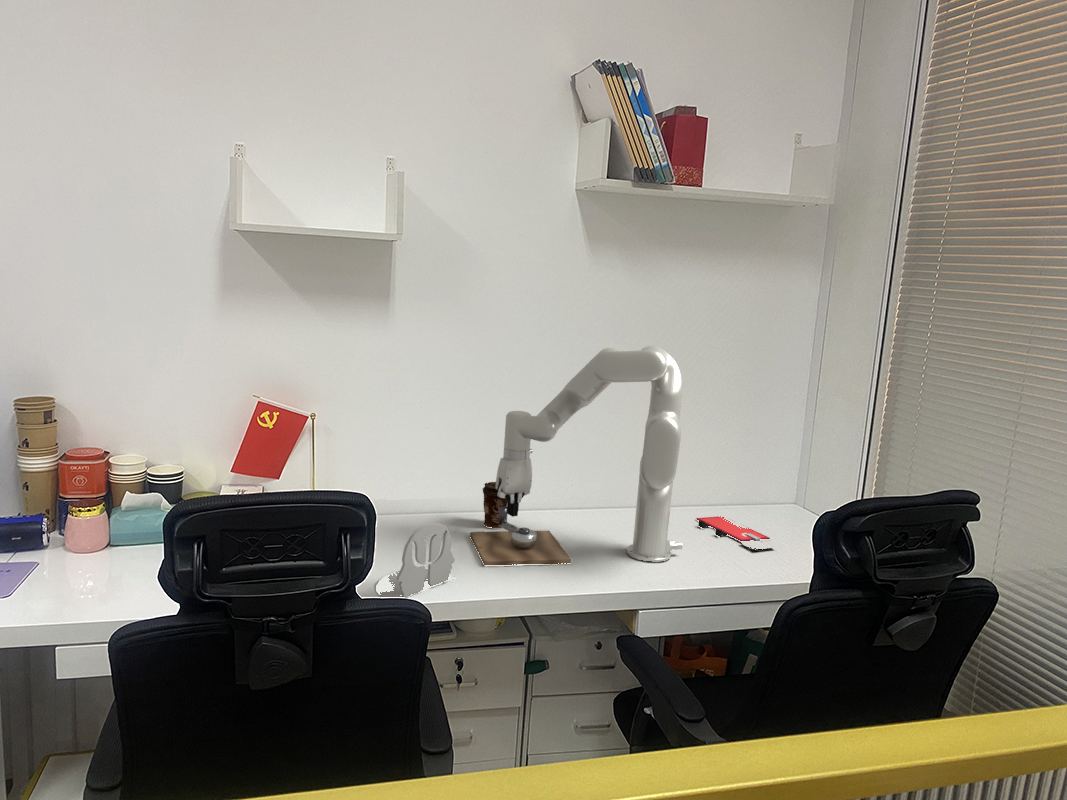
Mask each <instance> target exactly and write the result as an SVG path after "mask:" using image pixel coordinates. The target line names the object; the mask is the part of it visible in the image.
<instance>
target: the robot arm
mask: <svg viewBox="0 0 1067 800" xmlns="http://www.w3.org/2000/svg"><path fill="white" fill-rule="evenodd" d="M645 382H647V383H648V382H650V386H651V388H650V398H649V399H650V400H649V407H648V408H649V409H648V415H647V419H646V421H645V422H646V423H645V428H644V429H645V430H644V440H643V449H642V456H641V458H640V463H639V476H638V488H637V499H636V508H635V518H634V527H633V538H632V544H630V545H628V546H627V547H626V553H628V554H627V555H628V556H629V555H630V558H633V559H635V560H638V561H641V560H643V561H642V562H646V561H652V562H651V563H660V562H659V561H664V562H667V561H668V559H669V560H670V559H671V558H670V557H672V553H671V551H672V550H682V549H683V543H682V542H675V541H674V540H668V534H669V525H670V514H671V505H672V496H673V486H674V485H673V483H674V480H675V477H676V474H677V470H678V469H677V467H678V462H679V461H678V460H679V455H680V447H681V446H680V445H681V436H682V435H681V434H682V430H681V424H680V416H681V415H680V414H681V407H682V405H681V404H682V398H683V397H682V396H683V395H682V394H683V378H682V372H681V369H680V368H679V365H678V363H677V362H676V360H675V358H673V356H671V354H669V353H668V352H667V351H666V350H664V349H663V348H661V347H659V346H657V345H647V346H646V347H643V348H642V349H640V350H626V351H625V350H621V351H620V350H618V349H616V348H613V347H607V348H603V349H601V350H600V351H599V352H597V354H596V355H594V357H593V358H592V359H590V360H589V362H587V364H586V365H585V366H584V367H582V368H581V369H580V370H579V371H578V373H577V374H575V375H574V376H573V377H572V378H571V379H570V380H569V381H568V382H567V384H566V385H565V386H564V387H563V389H561V390H560V392H559V393H557V394H556V396H554V398H553V399H552V400H551V401H550V402H549V403H548V404H547V405H545V406H544V408H543V409H542V410H541V411H540V412H539V413H538V414H537V415H532V414H531V413H530V412H528V411H523V410H512V411H511V410H510V411H509V412H507V413H506V415H505V428H504V439H503V440H504V442H503V456H502V457H501V458H500V459H499V463H498V466H497V470H496V471H497V472H496V478H495V482H496V490H498V494H497V496H498V497H500V498H505V499H506V501H507V507H508V511H507V516H508V515H509V516H511V517H512V518H513V517H518V515H519V509H520V508H519V507H520V503H521V501H522V499H523V498H524V496H527V495H529V494H531V489H532V484H533V467H532V466H533V465H532V459H531V458H530V454H533V449H532V448H531V440H533V441H536V442H540V443H542V442H543V443H546V442H547V443H548V442H550V441H551V440H553V439H554V438H555V437H556V434H557V433H558V432H559V430H560V429H561V427H563V426H564V424H566V423H567V422H568V421H569V420H570V419H571V418H572V417H573V416H574V415H575V414H577V413H578V411H580V410H581V409H583V408H586V407H587V406H589V405H590V404H591V403H592V402H593V401H594V400H596V398H598V397H599V395H600V394H601V393H602V392H604V390H606V389H607V388H608V386H610V384H612V383H645ZM666 560H667V561H666Z"/></svg>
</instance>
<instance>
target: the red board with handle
mask: <svg viewBox="0 0 1067 800" xmlns="http://www.w3.org/2000/svg"><path fill="white" fill-rule="evenodd" d="M721 516H722V515H721ZM721 516H720V517H719V515H718V516H707V517H696V518H695V520H696V519H697V520H699V522H698V526H700V527H702V528H703V527H704V528H708V526H711V527H713V528H715V529H716V531H715V534H716V535H718V536H721V537H722V536H723V535H727V534H728V535H730V536H732V537H734V538H736V539H738V540H740V541H750V540H754V541H760V539H770V540H771V538H770V537H768V536H767V535H765V534H762V533H761V532H758V531H756V530H753V529H752V528H750V527H747V528H748V529H747V528H746V529H745V528H742V527H740V526H739V527H740V528H741V529H740V528H739V527H737V526H736V525H733V523H732V524H731V522H730V521H728V520H726V519H724V517H725V516H724V517H722V518H721ZM723 519H724V520H723ZM725 520H726V521H725ZM727 521H728V522H727ZM729 522H730V523H729ZM698 526H697V527H698ZM706 526H707V527H706ZM749 528H750V529H749ZM715 534H714V535H715ZM748 549H750V550H752V551H754V550H755V549H756V548H754V549H752V548H751V547H750V548H748ZM762 550H763V549H762ZM762 550H761V551H762ZM755 551H759V550H758V549H756V550H755ZM763 551H764V550H763Z"/></svg>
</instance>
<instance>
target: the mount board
mask: <svg viewBox="0 0 1067 800" xmlns="http://www.w3.org/2000/svg"><path fill="white" fill-rule="evenodd" d="M534 531H535V532H536V533H537V535H536V545H535V546H533V547H518V546H515V545H513V544H512V543H511V535H512V533H511V532H509V531H507V530H505V531H503V530H502V531H501V530H500V531H499V530H498V531H470V532H469V538H470V537H471V538H470V540H471V539H472V540H471V542H472V541H473V542H472V544H473V543H474V544H473V546H474V545H475V547H476V549H477V551H478V552H479V555H480V557H481V559H482V561H483V563H484V565H512V564H513V565H514V564H516V565H517V564H558V563H559V564H561V563H563V564H564V563H566V564H567V563H571V564H572V558H571V557H570V556H569V554H568V553H567V551H566V550H565V549H564V547H562V545H561V544H560V543H559V541H558V540H557V539H556V537H555V536H554V535H553V534H552V532H551V531H550V530H534ZM475 547H474V548H475ZM476 549H475V550H476ZM477 551H476V552H477ZM479 555H478V556H479ZM480 557H479V558H480ZM481 559H480V560H481ZM482 561H481V562H482ZM483 563H482V564H483ZM484 565H483V566H484Z"/></svg>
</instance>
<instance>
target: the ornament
mask: <svg viewBox="0 0 1067 800" xmlns="http://www.w3.org/2000/svg"><path fill="white" fill-rule="evenodd" d="M428 537H430V539H429V545H428V546H429V547H427V541H426V538H428ZM441 541H442V546H441ZM412 542H413V543H414V557H415V558H414V559H415V561H416V562H417V564H419V565H422V566H416V565H415V563H414V559H413V543H412ZM452 546H453V543H452V536H451V533H450V531H449V529H448V527H446V526H445V525H444V524H441V523H438V522H437V523H435V522H434V523H429V524H425V525H423V526H421V527H419V528H418V529H417V530H414V532H413V533H412V534H411V535H410V536H409V538H408V539H407V542H406V543H405V546H404V548H403V552H402V557H401V558H402V559H401V561H402V565H401V567H400V569H399V570H398V572H399V573H398V572H397V571H395V572H396V574H397V576H396V575H395V574H394V573H393V572H392V573H393V576H392V575H391V574H390V573H389V574H390V576H389V577H388V578H389V579H390V580H389V582H391V584H393V585H394V584H395V585H394V586H395V587H393V588H394V589H393V590H394V591H390V592H387V591H386V592H382V593H381V592H380V594H381V595H380V596H379V597H380V598H381V597H407V596H410V595H411V594H414V593H417V594H419V593H418V592H420V591H421V590H423V587H424V582H425V581H428V584H429V585H430V586H433V585H436V584H439V583H441V582H444V581H446V580H448V577H449V574H451V573H452V569H453V566H452V565H453V564H454V563H455V561H456V559H455V557H454V556H453V554H452ZM428 548H429V549H428ZM427 549H428V562H429V563H428V565H427V566H428V567H427V568H426V566H424V565H426V564H427V563H426V561H427ZM426 579H428V580H426ZM392 582H393V583H392ZM393 585H392V586H393ZM420 593H421V592H420ZM400 595H402V596H400ZM410 597H411V596H410ZM407 598H408V597H407Z"/></svg>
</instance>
